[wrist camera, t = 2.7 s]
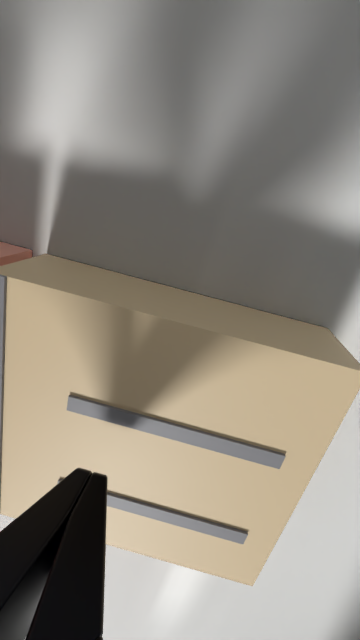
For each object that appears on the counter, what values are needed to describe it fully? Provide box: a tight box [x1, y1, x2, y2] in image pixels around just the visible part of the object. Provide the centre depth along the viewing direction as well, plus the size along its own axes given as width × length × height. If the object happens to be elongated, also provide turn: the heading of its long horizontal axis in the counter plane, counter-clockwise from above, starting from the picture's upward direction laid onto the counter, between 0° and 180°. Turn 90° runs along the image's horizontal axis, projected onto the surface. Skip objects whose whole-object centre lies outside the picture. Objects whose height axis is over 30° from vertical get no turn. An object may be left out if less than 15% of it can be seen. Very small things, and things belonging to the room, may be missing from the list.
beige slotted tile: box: [0, 254, 360, 586], centre depth 11 cm, size 10×9×3 cm
